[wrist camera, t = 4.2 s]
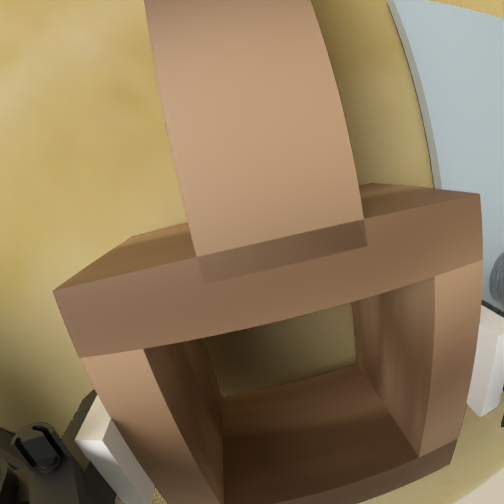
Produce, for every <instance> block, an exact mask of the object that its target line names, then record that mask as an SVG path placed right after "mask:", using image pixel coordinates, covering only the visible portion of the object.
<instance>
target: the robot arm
mask: <svg viewBox="0 0 504 504" xmlns="http://www.w3.org/2000/svg"><path fill="white" fill-rule="evenodd" d="M503 391H504V311H503V312H502V311H501V310H500V309H498V308H497V307H493V305H491V304H489V303H488V302H486V301H484V300H482V301H481V314H480V324H479V331H478V339H477V347H476V354H475V361H474V367H473V372H472V378H471V383H470V388H469V393H468V398H467V402H466V404H467V405H468V406H469V407H470V408H471V409H472V410H473V411H474V412H475V413H476V414H477V415H478V416H479V417H480V418H481V417H482V416H484V415H486V414H487V413H489V412H490V411H492V410H494V409H495V408H497V407H498V406H499V403H500V399H501V396H502V392H503ZM501 427H504V416H503V419H502V422H501ZM154 489H155V485H154V484H153V482H152V481H151V480H150V478H149V477H148V475H147V474H146V473H145V471H144V470H143V468H142V467H141V465H140V464H139V462H138V461H137V459H136V458H135V456H134V455H133V453H132V452H131V450H130V448H129V447H128V445H127V444H126V442H125V440H124V439H123V437H122V436H121V434H120V432H119V431H118V429H117V427H116V425H115V424H114V422H113V420H112V419H111V418H110V416H109V414H108V413H107V411H106V409H105V407H104V405H103V404H102V402H101V400H100V398H99V396H98V394H97V392H96V390H93V391H92V392H90V393H89V394H88V395H87V396H86V397H85V398H84V399H83V401H82V402H81V404H80V406H79V408H78V411H77V412H76V413H75V415H74V417H73V420H72V421H71V422H70V424H69V426H68V428H67V430H66V432H65V434H64V435H63V437H62V439H60V437H59V436H58V434H57V433H56V431H55V430H54V428H53V427H52V426H51V425H50V424H48V423H43V422H38V423H33V424H30V425H28V426H26V427H24V428H23V429H21V430H20V431H19V432H17V434H16V435H13V434H11V433H8V432H6V431H4V430H1V429H0V504H114V503H115V499H116V495H117V496H118V498H119V499H120V500H121V501H122V502H123V503H124V504H152V501H153V495H154Z"/></svg>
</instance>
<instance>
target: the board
mask: <svg viewBox="0 0 504 504" xmlns="http://www.w3.org/2000/svg"><path fill="white" fill-rule="evenodd" d="M387 3H388V6H389V8H390V11H391V14H392V16H393V19H394V22H395V24H396V27H397V30H398V33H399V36H400V38H401V41H402V44H403V47H404V51H405V54H406V57H407V60H408V63H409V67H410V70H411V74H412V77H413V81H414V85H415V88H416V92H417V96H418V100H419V104H420V109H421V113H422V118H423V122H424V127H425V132H426V137H427V142H428V148H429V153H430V159H431V166H432V172H433V180H434V187H435V189H444V190H453V191H462V192H470V193H478V194H480V199H481V213H482V233H483V281H482V300H484V301H486V302H488V303H489V304H491V305H493V307H497V308H498V309H500V310H501V311H502V312H503V311H504V305H502V304H500V303H499V302H497V301H495V300H494V299H493V298H492V296H491V294H490V289H489V281H490V275H491V271H492V268H493V266H494V264H495V262H496V260H497V258H498V257H499V256H500V254H501V253H503V252H504V19H503V18H499V17H496V16H493V15H489V14H486V13H482V12H479V11H475V10H471V9H467V8H463V7H458V6H454V5H449V4H444V3H439V2H433V1H427V0H387Z"/></svg>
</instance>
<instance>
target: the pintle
mask: <svg viewBox="0 0 504 504" xmlns="http://www.w3.org/2000/svg"><path fill="white" fill-rule="evenodd" d="M489 289H490V294H491V296H492V298H493V299H494V300H495V301H497V302H499V303H500V304H502V305H504V252H503V253H501V254H500V256H499V257H498V258H497V260H496V262H495V264H494V266H493V268H492V271H491V275H490V281H489Z"/></svg>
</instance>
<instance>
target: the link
mask: <svg viewBox="0 0 504 504" xmlns="http://www.w3.org/2000/svg"><path fill="white" fill-rule="evenodd" d="M144 3H145V9H146V16H147V23H148V29H149V36H150V42H151V48H152V54H153V60H154V65H155V71H156V76H157V82H158V87H159V93H160V98H161V103H162V108H163V113H164V118H165V123H166V128H167V133H168V138H169V142H170V147H171V152H172V156H173V161H174V165H175V170H176V174H177V179H178V183H179V187H180V192H181V196H182V200H183V204H184V208H185V213H186V217H187V221H188V223H184V224H179V225H175V226H171V227H167V228H163V229H159V230H155V231H152V232H148V233H144V234H140V235H136V236H132V237H131V238H129V239H128V240H126V241H125V242H123V243H121V244H120V245H118V246H117V247H115V248H114V249H112V250H111V251H109V252H108V253H106V254H105V255H103V256H102V257H100V258H99V259H97V260H96V261H94V262H93V263H92V264H90V265H89V266H87V267H86V268H84V269H83V270H81V271H80V272H79V273H77V274H76V275H74V276H73V277H71V278H70V279H69V280H67V281H66V282H64V283H63V284H62V285H60V286H59V287H57V288H56V289H55V290H53V294H54V297H55V299H56V302H57V305H58V307H59V310H60V313H61V315H62V318H63V320H64V323H65V325H66V328H67V330H68V333H69V335H70V337H71V340H72V342H73V344H74V347H75V349H76V351H77V353H78V356H79V358H80V360H81V362H82V364H83V366H84V368H85V371H86V373H87V375H88V377H89V379H90V381H91V383H92V385H93V387H94V389H95V390H96V392H97V394H98V396H99V398H100V400H101V402H102V404H103V405H104V407H105V409H106V411H107V413H108V414H109V416H110V418H111V419H112V420H113V422H114V424H115V425H116V427H117V429H118V431H119V432H120V434H121V436H122V437H123V439H124V440H125V442H126V444H127V445H128V447H129V448H130V450H131V452H132V453H133V455H134V456H135V458H136V459H137V461H138V462H139V464H140V465H141V467H142V468H143V470H144V471H145V473H146V474H147V475H148V477H149V478H150V480H151V481H152V482H153V484H154V485H155V487H156V488H157V490H158V491H159V492H160V494H161V495H162V496H163V498H164V499H165V500H166V501H167V503H168V504H357V503H360V502H363V501H366V500H369V499H372V498H374V497H377V496H380V495H382V494H385V493H387V492H390V491H393V490H395V489H397V488H400V487H402V486H405V485H407V484H409V483H411V482H414V481H416V480H418V479H420V478H422V477H425V476H427V475H429V474H431V473H433V472H435V471H437V470H439V469H441V468H443V467H445V466H447V465H448V464H450V462H451V459H452V456H453V453H454V449H455V446H456V443H457V439H458V436H459V432H460V429H461V425H462V421H463V417H464V413H465V409H466V405H467V404H466V402H467V398H468V393H469V388H470V383H471V378H472V372H473V367H474V361H475V354H476V347H477V339H478V331H479V324H480V314H481V301H482V281H483V233H482V213H481V199H480V194H478V193H470V192H462V191H453V190H444V189H434V188H424V187H413V186H401V185H388V184H373V183H370V184H365V185H358V180H357V174H356V169H355V164H354V158H353V153H352V149H351V144H350V139H349V134H348V130H347V125H346V121H345V117H344V112H343V108H342V104H341V100H340V96H339V92H338V88H337V85H336V81H335V77H334V73H333V70H332V66H331V63H330V59H329V56H328V52H327V49H326V46H325V43H324V39H323V36H322V33H321V30H320V27H319V24H318V21H317V18H316V15H315V12H314V9H313V6H312V3H311V0H144ZM350 302H351V305H352V314H353V324H354V335H355V347H356V360H357V364H355V365H352V366H349V367H345V368H342V369H339V370H335V371H332V372H328V373H325V374H321V375H318V376H314V377H310V378H307V379H303V380H299V381H295V382H291V383H287V384H283V385H279V386H274V387H270V388H266V389H261V390H256V391H252V392H247V393H242V394H237V395H232V396H226V397H222V395H221V392H220V389H219V386H218V383H217V380H216V377H215V374H214V371H213V368H212V365H211V362H210V359H209V356H208V353H207V350H206V347H205V344H204V341H203V338H205V337H210V336H214V335H219V334H224V333H229V332H233V331H238V330H243V329H247V328H252V327H256V326H260V325H265V324H269V323H273V322H277V321H281V320H286V319H290V318H294V317H298V316H302V315H305V314H309V313H313V312H317V311H321V310H325V309H328V308H332V307H336V306H339V305H343V304H347V303H350Z"/></svg>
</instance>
